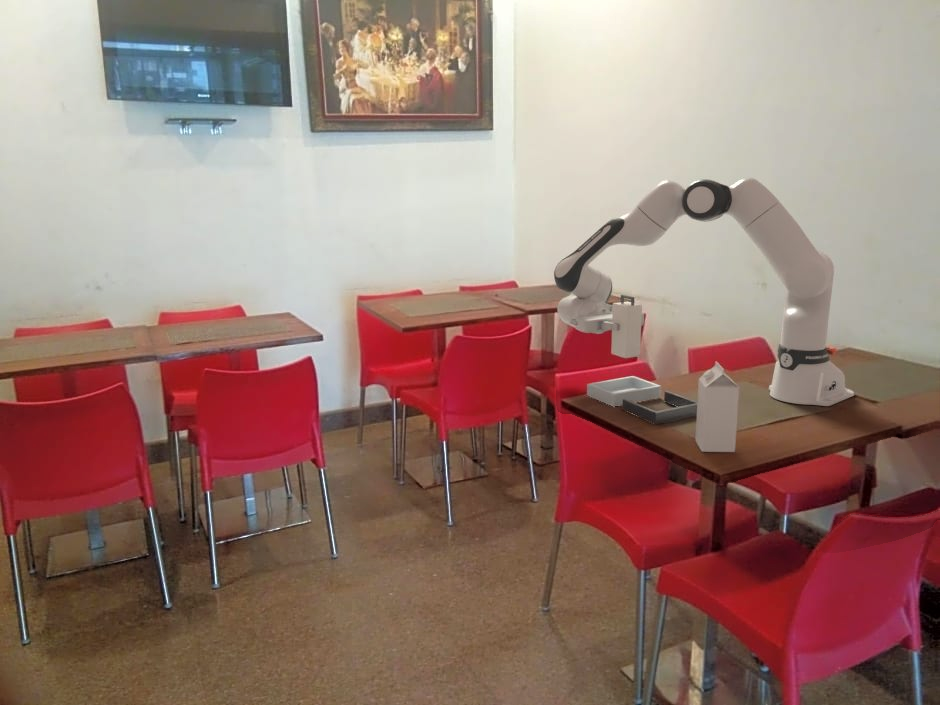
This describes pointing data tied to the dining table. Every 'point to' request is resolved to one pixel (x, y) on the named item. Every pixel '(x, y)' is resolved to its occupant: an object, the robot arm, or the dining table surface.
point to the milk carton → (716, 411)
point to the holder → (657, 417)
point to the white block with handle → (626, 328)
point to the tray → (623, 390)
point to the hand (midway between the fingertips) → (627, 326)
